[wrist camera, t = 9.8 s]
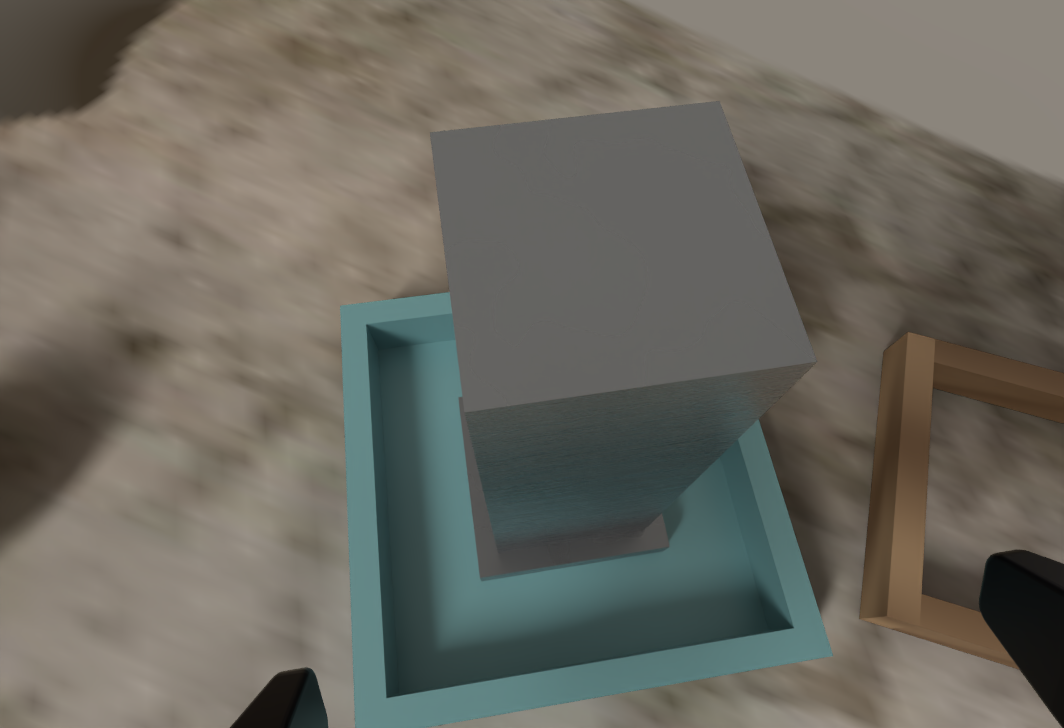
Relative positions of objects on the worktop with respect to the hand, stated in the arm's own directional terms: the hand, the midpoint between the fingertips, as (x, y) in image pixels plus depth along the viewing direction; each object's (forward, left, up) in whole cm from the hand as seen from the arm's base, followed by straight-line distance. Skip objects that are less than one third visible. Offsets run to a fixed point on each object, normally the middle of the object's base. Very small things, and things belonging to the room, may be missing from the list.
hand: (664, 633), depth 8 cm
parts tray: (+4, -3, -12) cm, 13 cm away
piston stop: (+4, -3, -11) cm, 12 cm away
